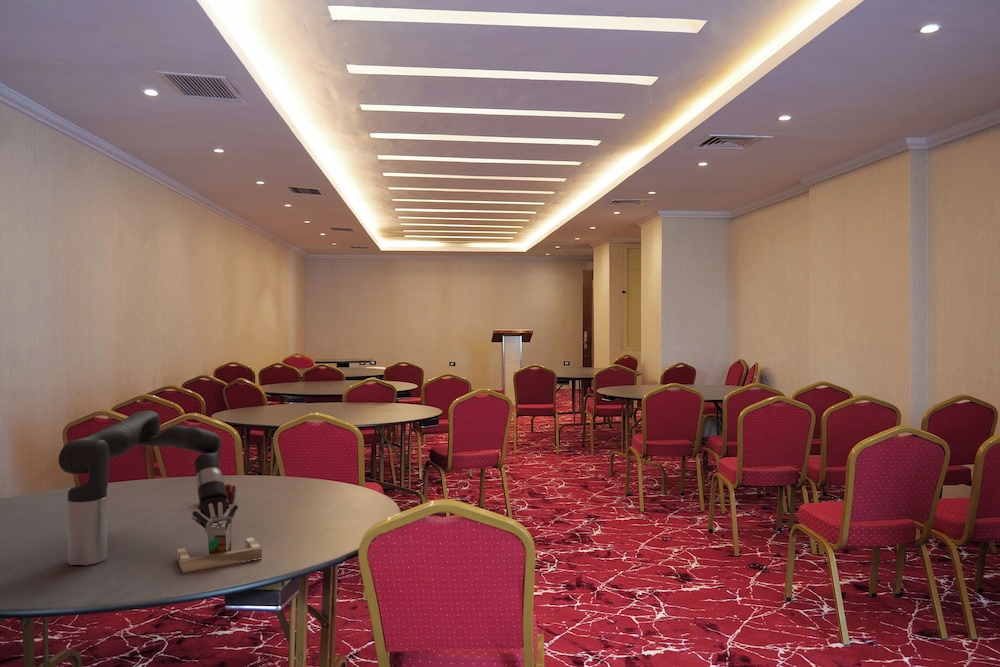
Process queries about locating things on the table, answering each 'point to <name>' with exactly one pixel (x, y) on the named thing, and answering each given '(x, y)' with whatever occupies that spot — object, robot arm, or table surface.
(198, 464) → the robot arm
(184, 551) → the wooden bridge piece
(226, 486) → the beverage can
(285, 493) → the table surface
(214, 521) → the food container
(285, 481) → the table surface
